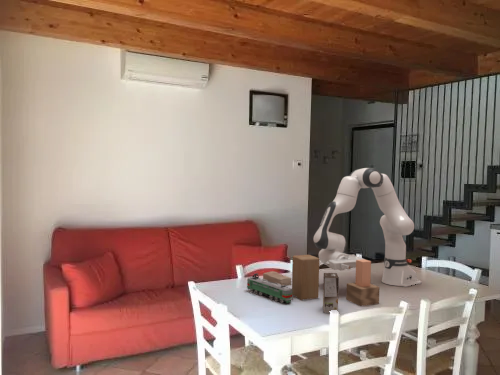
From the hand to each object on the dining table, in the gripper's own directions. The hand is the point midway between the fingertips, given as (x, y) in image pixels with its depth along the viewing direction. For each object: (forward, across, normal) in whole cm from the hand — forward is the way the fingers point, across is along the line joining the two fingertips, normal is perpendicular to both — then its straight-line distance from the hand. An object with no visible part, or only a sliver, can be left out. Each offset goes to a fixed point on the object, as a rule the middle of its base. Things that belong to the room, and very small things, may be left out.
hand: (357, 267), depth 212 cm
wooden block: (-12, -22, +16) cm, 30 cm away
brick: (-41, -23, +16) cm, 50 cm away
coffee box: (+10, -22, +16) cm, 29 cm away
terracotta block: (+5, 0, +8) cm, 9 cm away
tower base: (+5, 0, +16) cm, 17 cm away
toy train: (-18, -39, +16) cm, 46 cm away
